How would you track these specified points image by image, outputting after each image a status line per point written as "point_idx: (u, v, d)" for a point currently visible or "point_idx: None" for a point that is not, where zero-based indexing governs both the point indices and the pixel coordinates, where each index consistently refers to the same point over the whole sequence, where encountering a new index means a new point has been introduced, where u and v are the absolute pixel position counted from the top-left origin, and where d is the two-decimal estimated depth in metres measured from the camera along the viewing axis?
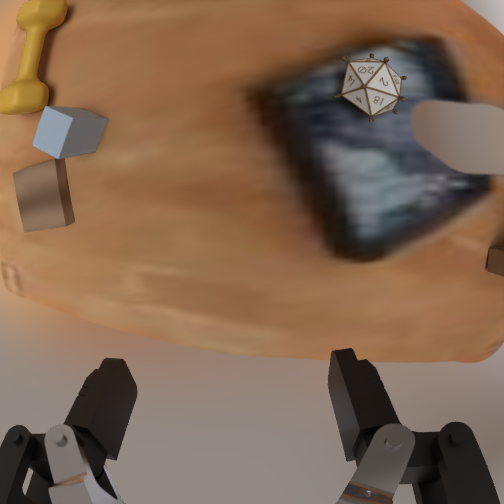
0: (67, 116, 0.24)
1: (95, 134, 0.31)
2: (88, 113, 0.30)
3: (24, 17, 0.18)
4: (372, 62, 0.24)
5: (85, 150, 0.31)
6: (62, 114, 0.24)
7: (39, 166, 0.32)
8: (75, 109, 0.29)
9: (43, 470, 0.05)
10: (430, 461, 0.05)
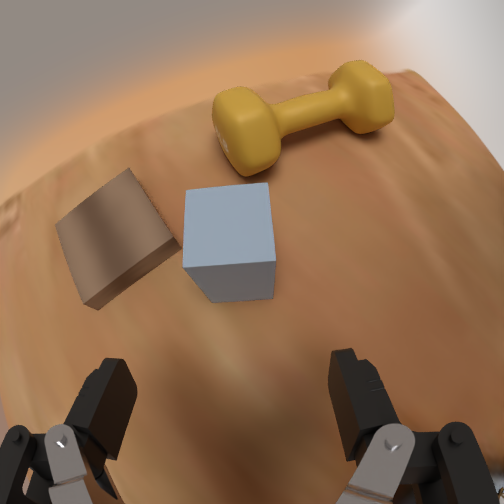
0: (272, 245, 0.16)
1: (244, 295, 0.22)
2: None
3: (355, 72, 0.24)
4: None
5: (212, 293, 0.21)
6: (270, 230, 0.16)
7: (151, 212, 0.24)
8: None
9: (43, 470, 0.05)
10: (430, 461, 0.05)
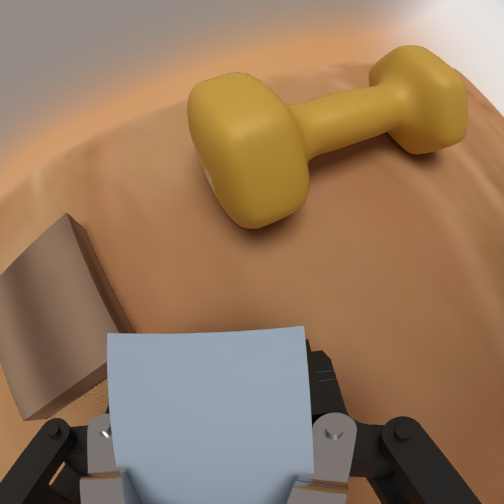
0: None
1: None
2: None
3: (418, 62, 0.13)
4: None
5: None
6: (308, 455, 0.05)
7: (93, 297, 0.14)
8: None
9: (77, 467, 0.06)
10: (375, 454, 0.06)
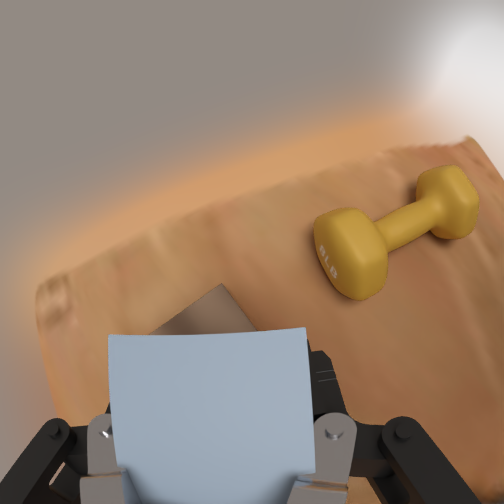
0: None
1: None
2: None
3: (453, 188, 0.23)
4: None
5: None
6: (309, 456, 0.05)
7: None
8: None
9: (77, 467, 0.06)
10: (375, 454, 0.06)
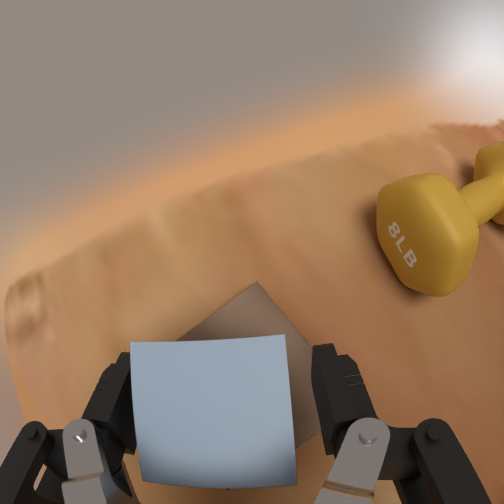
0: (292, 460, 0.07)
1: None
2: None
3: None
4: None
5: None
6: (289, 436, 0.07)
7: None
8: None
9: (57, 468, 0.05)
10: (407, 457, 0.05)
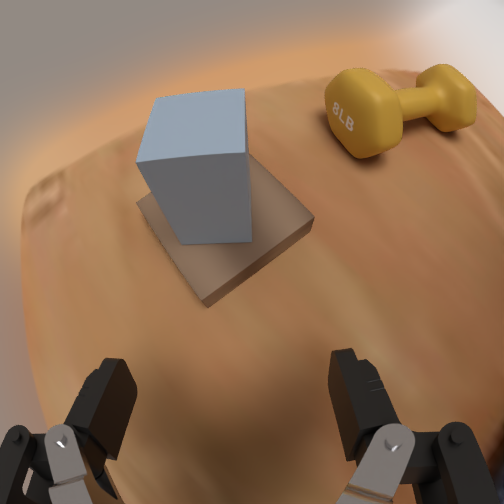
0: (242, 138, 0.12)
1: (216, 230, 0.18)
2: None
3: (449, 75, 0.21)
4: None
5: (177, 223, 0.17)
6: (242, 126, 0.13)
7: (280, 189, 0.22)
8: None
9: (43, 470, 0.05)
10: (430, 461, 0.05)
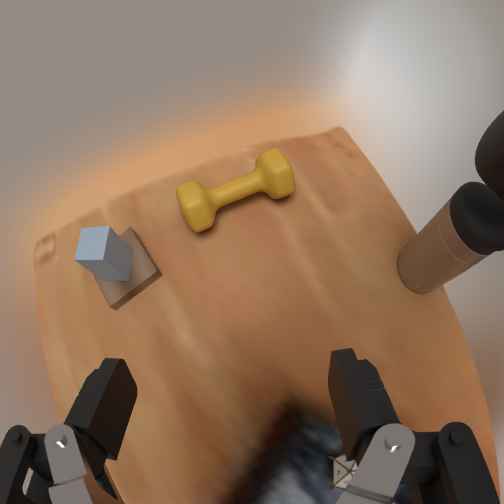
0: (103, 253, 0.35)
1: (111, 276, 0.41)
2: (125, 262, 0.42)
3: (266, 162, 0.44)
4: None
5: (96, 274, 0.40)
6: (104, 247, 0.35)
7: (145, 256, 0.44)
8: (124, 249, 0.41)
9: (43, 470, 0.05)
10: (430, 461, 0.05)
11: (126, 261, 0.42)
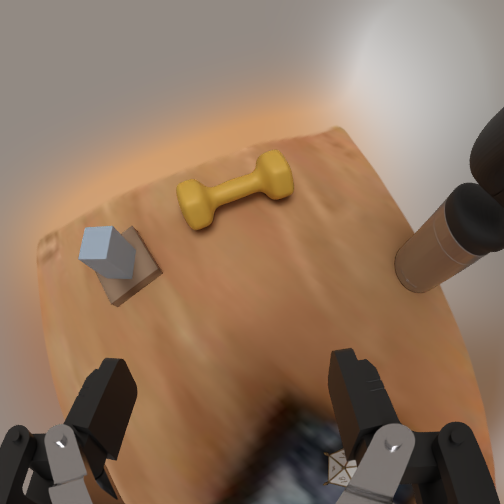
0: (106, 252, 0.36)
1: (115, 274, 0.42)
2: (128, 260, 0.43)
3: (265, 163, 0.44)
4: None
5: (100, 272, 0.41)
6: (107, 247, 0.36)
7: (146, 254, 0.45)
8: (127, 247, 0.42)
9: (43, 470, 0.05)
10: (430, 461, 0.05)
11: (129, 259, 0.43)
